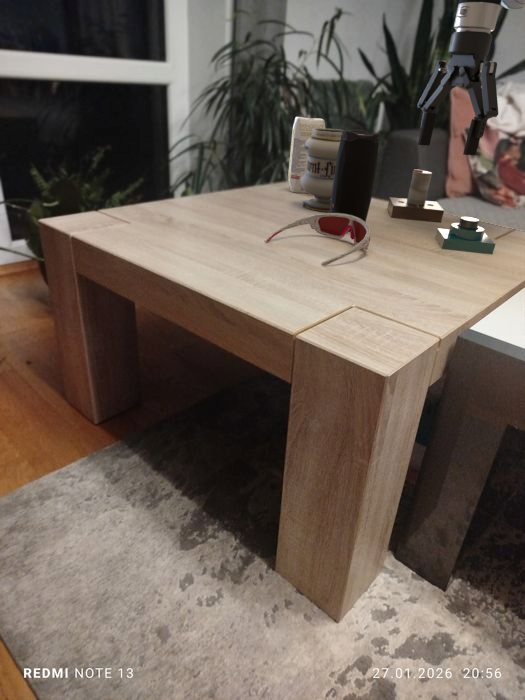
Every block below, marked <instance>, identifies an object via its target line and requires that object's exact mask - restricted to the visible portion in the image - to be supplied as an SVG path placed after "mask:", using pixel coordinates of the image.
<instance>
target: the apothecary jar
mask: <svg viewBox="0 0 525 700" xmlns="http://www.w3.org/2000/svg"><path fill="white" fill-rule="evenodd" d="M343 130H344V129H337V128H325V129H324V128H317V129H313V132H312V135H311V138H309V139H308V140H307V141H306V142H305V145H304V149H305V151H306V152H307V153H308V162H307V171H306V174H305V175H304V176H303V177H302V178H301V182H300V183H301V187H302V188H303V190H304V191H306V192H307V193H306V194H309V195H310V196H314V198H311V199H308V200H305V201H303V202H302V206H303V207H305V208H306V209H308V210H312V211H318V212H324V213H330V208H331V193H332V186H333V179H334V172H335V165H336V158H337V153H338V149H339V144H340V140H341V135H342V131H343Z"/></svg>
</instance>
